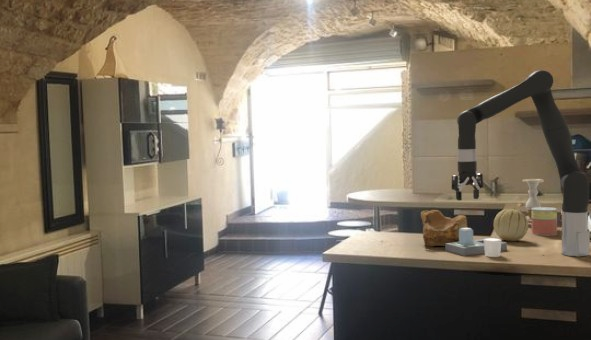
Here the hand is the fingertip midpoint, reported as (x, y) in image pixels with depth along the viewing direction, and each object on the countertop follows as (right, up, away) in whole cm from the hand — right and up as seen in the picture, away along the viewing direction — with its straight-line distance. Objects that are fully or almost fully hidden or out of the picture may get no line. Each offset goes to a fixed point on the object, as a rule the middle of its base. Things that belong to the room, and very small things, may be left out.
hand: (467, 199), depth 246 cm
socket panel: (+4, -22, +3) cm, 22 cm away
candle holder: (+51, -17, +61) cm, 82 cm away
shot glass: (+8, -23, -7) cm, 25 cm away
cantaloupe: (+26, -20, +23) cm, 40 cm away
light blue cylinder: (0, -22, +1) cm, 22 cm away
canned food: (+48, -18, +39) cm, 64 cm away
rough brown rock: (-8, -22, +17) cm, 28 cm away
